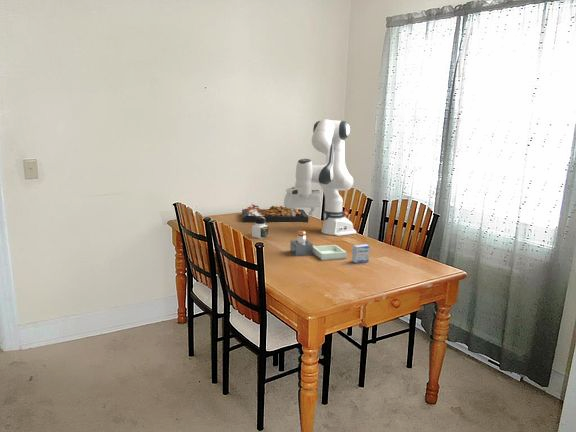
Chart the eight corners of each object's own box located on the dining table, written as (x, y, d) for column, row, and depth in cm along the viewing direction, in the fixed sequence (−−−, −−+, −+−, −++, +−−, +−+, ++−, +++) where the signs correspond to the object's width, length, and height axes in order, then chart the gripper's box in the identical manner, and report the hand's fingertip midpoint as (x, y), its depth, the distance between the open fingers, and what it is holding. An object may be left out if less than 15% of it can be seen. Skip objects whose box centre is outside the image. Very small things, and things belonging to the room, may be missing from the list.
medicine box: (356, 263, 245) (357, 247, 243) (351, 261, 248) (352, 245, 246) (368, 261, 248) (369, 245, 246) (363, 259, 252) (364, 243, 250)
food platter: (242, 223, 324) (243, 208, 322) (242, 215, 348) (242, 201, 346) (308, 223, 329) (308, 208, 327) (303, 215, 353) (303, 201, 351)
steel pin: (303, 251, 262) (304, 230, 260) (306, 253, 258) (307, 232, 256) (296, 252, 261) (296, 230, 258) (298, 254, 257) (299, 232, 254)
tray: (335, 250, 265) (335, 244, 264) (346, 258, 252) (346, 252, 251) (312, 252, 261) (312, 246, 260) (321, 260, 248) (322, 254, 247)
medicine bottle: (260, 239, 285) (261, 219, 282) (251, 236, 289) (251, 217, 286) (268, 236, 290) (268, 217, 288) (259, 234, 294) (259, 215, 292)
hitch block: (306, 249, 265) (306, 239, 264) (312, 254, 257) (312, 244, 255) (290, 251, 262) (290, 240, 261) (295, 256, 254) (296, 245, 252)
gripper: (319, 188, 258) (318, 213, 261) (283, 189, 252) (282, 215, 255) (323, 190, 252) (322, 216, 255) (287, 191, 246) (286, 217, 249)
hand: (302, 215), depth 255 cm, fingers open, 8 cm apart
